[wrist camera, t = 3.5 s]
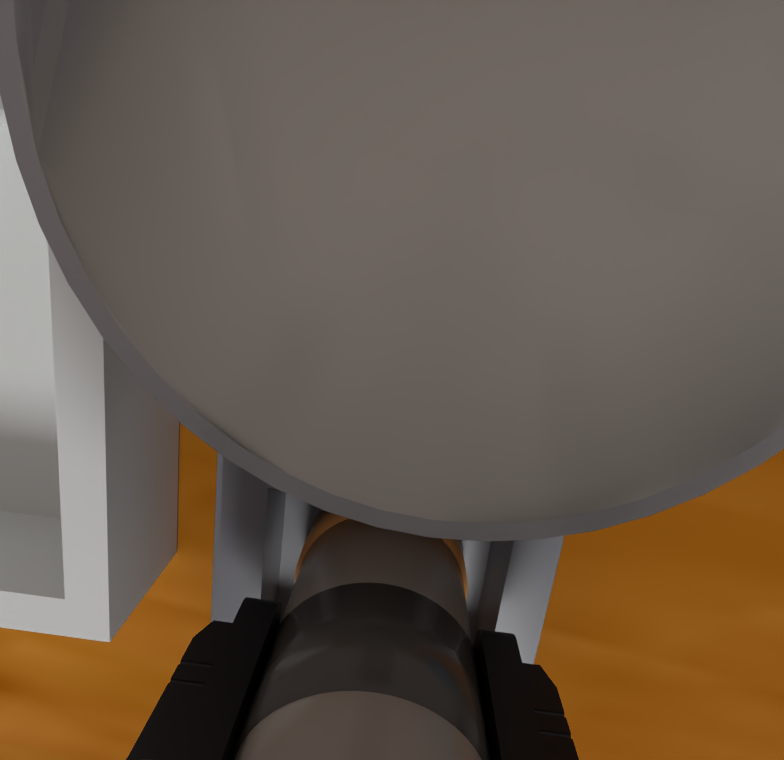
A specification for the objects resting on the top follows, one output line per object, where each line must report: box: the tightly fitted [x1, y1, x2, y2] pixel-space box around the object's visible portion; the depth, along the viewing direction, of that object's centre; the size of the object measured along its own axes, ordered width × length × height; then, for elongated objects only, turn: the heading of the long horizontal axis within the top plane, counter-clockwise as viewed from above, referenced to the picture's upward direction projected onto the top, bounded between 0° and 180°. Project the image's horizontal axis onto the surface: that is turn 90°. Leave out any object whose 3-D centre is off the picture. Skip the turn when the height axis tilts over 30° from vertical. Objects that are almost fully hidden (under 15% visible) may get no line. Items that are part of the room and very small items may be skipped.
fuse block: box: [211, 453, 564, 664], centre depth 13 cm, size 17×9×3 cm, turn 173°
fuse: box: [0, 0, 784, 542], centre depth 7 cm, size 4×4×10 cm
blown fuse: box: [232, 510, 490, 760], centre depth 9 cm, size 4×4×10 cm
